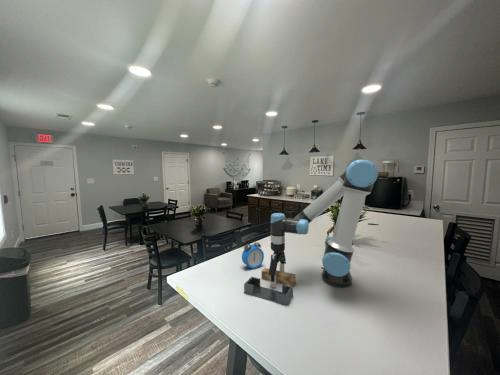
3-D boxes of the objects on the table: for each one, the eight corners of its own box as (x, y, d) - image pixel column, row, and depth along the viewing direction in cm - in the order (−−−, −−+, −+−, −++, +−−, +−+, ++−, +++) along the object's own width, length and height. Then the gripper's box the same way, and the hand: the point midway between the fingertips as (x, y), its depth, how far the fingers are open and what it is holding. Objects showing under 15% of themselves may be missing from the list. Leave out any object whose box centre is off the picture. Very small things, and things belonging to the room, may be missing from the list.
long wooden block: (295, 283, 107) (295, 274, 106) (293, 287, 103) (293, 277, 103) (264, 276, 115) (264, 267, 114) (261, 279, 111) (261, 270, 111)
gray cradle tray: (292, 296, 95) (292, 286, 95) (287, 306, 88) (287, 295, 87) (251, 285, 105) (251, 276, 105) (244, 293, 98) (244, 283, 98)
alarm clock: (246, 271, 120) (245, 247, 119) (241, 267, 126) (241, 244, 125) (264, 266, 127) (264, 243, 126) (259, 262, 132) (258, 240, 131)
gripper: (279, 235, 120) (279, 269, 122) (261, 248, 98) (262, 290, 100) (291, 236, 117) (291, 272, 118) (276, 251, 95) (276, 294, 96)
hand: (277, 280), depth 109 cm, fingers open, 13 cm apart
